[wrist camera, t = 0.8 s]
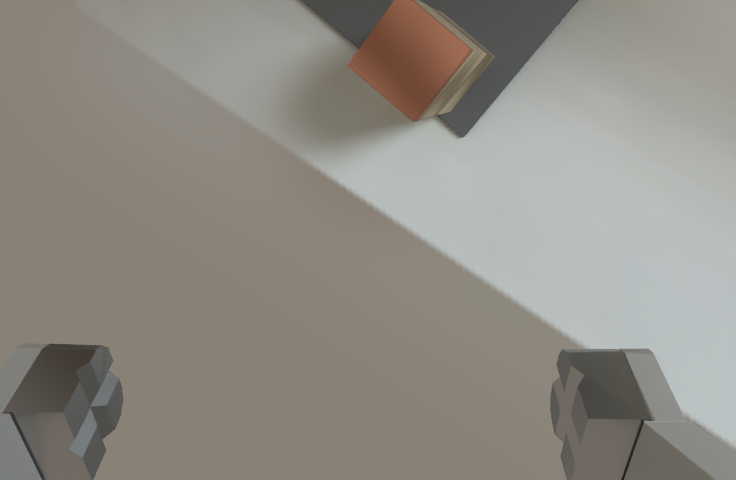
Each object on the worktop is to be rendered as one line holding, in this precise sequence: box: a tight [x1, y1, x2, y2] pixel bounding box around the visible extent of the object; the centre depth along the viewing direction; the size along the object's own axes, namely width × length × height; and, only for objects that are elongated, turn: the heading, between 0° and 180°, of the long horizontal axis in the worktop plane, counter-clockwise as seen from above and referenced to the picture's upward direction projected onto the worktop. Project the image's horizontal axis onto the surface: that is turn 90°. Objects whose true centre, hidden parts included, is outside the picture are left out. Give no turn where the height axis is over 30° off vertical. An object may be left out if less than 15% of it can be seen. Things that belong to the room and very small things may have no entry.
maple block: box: [348, 0, 495, 121], centre depth 38 cm, size 4×4×11 cm
